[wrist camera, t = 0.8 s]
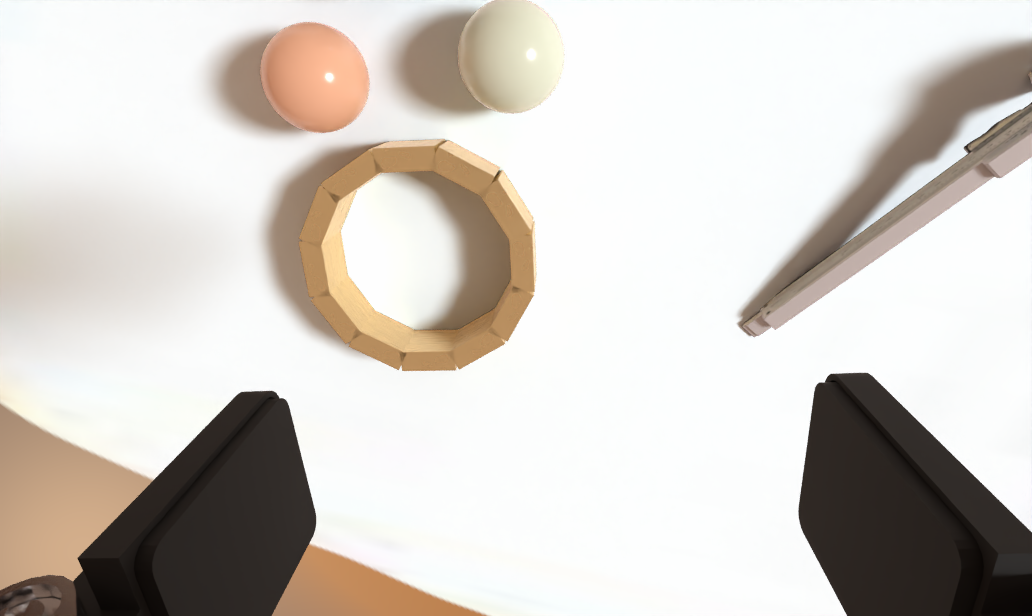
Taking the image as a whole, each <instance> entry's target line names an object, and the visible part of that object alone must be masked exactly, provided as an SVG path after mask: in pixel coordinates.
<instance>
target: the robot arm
mask: <svg viewBox="0 0 1032 616" xmlns="http://www.w3.org/2000/svg"><path fill="white" fill-rule="evenodd" d="M799 521H800V525H801V528H802V531H803V533H804V535H805V537H806V539H807V541H808V542H809V544H810V546H811V548H812V550H813V552H814V554H815V556H816V558H817V559H818V561H819V563H820V565H821V567H822V569H823V571H824V573H825V575H826V576H827V578H828V580H829V582H830V584H831V586H832V588H833V590H834V592H835V594H836V595H837V597H838V599H839V601H840V603H841V605H842V607H843V609H844V611H845V612H846V614H847V616H1032V532H1031V531H1030V530H1029V529H1028V528H1027V527H1026V526H1025V525H1024V524H1022V523H1021V522H1020V521H1019V520H1018V519H1017V518H1016V517H1015V516H1014V515H1013V514H1012V513H1011V512H1010V511H1009V510H1008V509H1007V508H1006V507H1005V506H1004V505H1003V504H1002V503H1001V502H1000V501H999V500H998V499H997V498H996V497H995V496H994V495H993V494H992V493H991V492H990V491H989V490H988V489H987V488H986V487H985V486H984V485H983V484H982V483H981V482H980V481H979V480H978V479H977V478H976V477H975V476H974V475H973V474H971V473H970V472H969V471H968V470H967V469H966V468H965V467H964V466H963V465H962V464H961V463H960V462H959V461H958V460H957V459H956V458H955V457H954V456H953V455H952V454H951V453H950V452H949V451H948V450H947V449H946V448H945V447H944V446H943V445H942V444H941V443H940V442H939V441H938V440H937V439H936V438H935V437H934V436H933V435H932V434H931V433H930V432H929V431H928V430H927V429H926V428H925V427H924V426H923V425H922V424H920V423H919V422H918V421H917V420H916V419H915V418H914V417H913V416H912V415H911V414H910V413H909V412H908V411H907V410H906V409H905V408H904V407H903V406H902V405H901V404H900V403H899V402H898V401H897V400H896V399H895V398H894V397H893V396H892V395H891V394H890V393H889V392H888V391H887V390H886V389H885V388H884V387H883V386H882V385H881V384H880V383H879V382H878V381H877V380H876V379H875V378H874V377H873V376H871V375H870V374H868V373H844V374H830V375H829V376H828V377H827V379H826V381H825V383H818V384H817V386H816V387H815V392H814V399H813V406H812V413H811V421H810V428H809V436H808V443H807V450H806V458H805V465H804V472H803V480H802V487H801V494H800V502H799ZM315 528H316V513H315V509H314V505H313V501H312V497H311V493H310V489H309V485H308V481H307V477H306V473H305V469H304V465H303V461H302V457H301V453H300V449H299V445H298V441H297V437H296V433H295V429H294V425H293V421H292V417H291V413H290V409H289V405H288V403H287V401H286V400H285V399H283V398H280V399H279V396H278V395H277V393H275V392H274V391H253V392H241V393H239V394H238V395H237V396H236V397H235V398H234V399H233V400H232V401H231V402H230V403H229V404H228V405H227V406H226V407H225V408H224V409H223V410H222V411H221V412H220V413H219V414H218V415H217V416H216V417H215V418H214V419H213V420H212V421H211V422H210V423H209V424H208V425H207V426H206V427H205V428H204V429H203V430H202V431H201V432H200V433H199V434H198V435H197V436H196V437H195V439H194V440H193V441H192V442H191V443H190V444H189V445H188V446H187V447H186V448H185V449H184V450H183V451H182V452H181V453H180V454H179V455H178V456H177V457H176V458H175V459H174V460H173V461H172V462H171V463H170V464H169V465H168V466H167V467H166V468H165V469H164V470H163V471H162V472H161V473H160V474H159V475H158V476H157V477H156V478H155V479H154V480H153V481H152V482H151V484H150V485H149V486H148V487H147V488H146V489H145V490H144V491H143V492H142V493H141V494H140V495H139V496H138V497H137V498H136V499H135V500H134V501H133V502H132V503H131V504H130V505H129V506H128V507H127V508H126V509H125V510H124V511H123V512H122V513H121V514H120V515H119V516H118V517H117V519H115V520H114V521H113V523H111V525H110V526H108V528H107V529H106V530H105V531H104V532H103V533H102V534H101V535H100V536H99V537H98V538H97V539H96V540H95V541H94V542H93V543H92V544H91V545H90V546H89V547H88V548H87V549H86V550H85V551H84V552H83V553H82V554H81V555H80V556H79V557H78V560H79V562H80V565H81V567H82V569H83V572H82V573H81V574H80V575H79V576H78V577H77V578H76V579H75V580H74V581H73V582H72V581H71V580H69V579H67V578H65V577H64V576H55V575H47V576H41V577H35V578H30V579H27V580H24V581H21V582H19V583H16V584H13V585H10V586H8V587H6V588H4V589H2V590H0V616H272V614H273V612H274V610H275V608H276V606H277V604H278V602H279V600H280V598H281V596H282V594H283V593H284V590H285V589H286V587H287V585H288V583H289V581H290V579H291V577H292V575H293V573H294V571H295V570H296V568H297V566H298V564H299V562H300V560H301V558H302V556H303V554H304V552H305V550H306V548H307V546H308V545H309V543H310V541H311V539H312V537H313V535H314V532H315Z"/></svg>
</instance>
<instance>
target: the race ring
mask: <svg viewBox="0 0 1032 616" xmlns="http://www.w3.org/2000/svg"><path fill="white" fill-rule="evenodd" d="M499 169H500V167H498V166H497V165H495V164H493V163H491V162H489V161H487V160H485V159H483V158H482V157H480V156H478V155H476V154H474V153H472V152H470V151H468V150H467V149H465V148H463V147H461V146H459V145H457V144H455V143H453V142H451V141H450V140H448V141H447V142H445V139H437V140H413V141H390V142H386V143H383V144H381V145H378V146H376V147H374V148H371V149H369V150H367V151H366V152H364V153H363V154H362V155H360V156H359V157H357V158H356V159H355V160H353V161H352V162H350V163H349V164H347V165H346V166H345V167H343V168H342V169H340V170H339V171H338V172H336V173H335V174H333V175H332V176H331V177H329V178H328V179H326V180H325V181H323V182H322V183H321V184H322V185H320V186H319V187H318V189H317V192H316V195H315V197H314V200H313V203H312V205H311V208H310V210H309V213H308V216H307V218H306V221H305V224H304V226H303V229H302V232H301V234H300V237H299V239H301V241H300V242H299V247H300V252H301V257H302V262H303V268H304V273H305V278H306V283H307V289H308V294H309V297H314V298H313V299H312V300H311V301H312V303H313V304H314V305H315V306H316V308H317V309H318V310H319V311H320V313H321V314H322V315H323V316H324V318H325V319H326V320H327V321H328V322H329V324H330V325H331V326H332V327H333V329H334V330H335V331H336V332H337V334H338V335H339V336H340V337H341V339H342V340H343V341H344V342H345V344H347V343H348V342H350V341H351V343H350V345H349V347H351V348H353V349H355V350H357V351H360V352H362V353H364V354H366V355H368V356H370V357H372V358H374V359H376V360H378V361H381V362H383V363H385V364H387V365H389V366H391V367H393V368H395V369H397V370H399V368H400V367H401V365H402V371H435V370H456V368H457V367H458V368H459V369H461V368H463V367H464V366H466V365H468V364H470V363H472V362H473V361H475V360H477V359H479V358H481V357H482V356H484V355H486V354H488V353H489V352H491V351H493V350H495V349H497V348H498V347H500V346H502V345H504V344H505V340H506V341H508V340H509V338H510V336H511V334H512V333H513V331H514V329H515V327H516V325H517V324H518V322H519V320H520V318H521V317H522V315H523V313H524V311H525V310H526V308H527V306H528V304H529V303H530V301H531V299H532V297H533V296H534V292H535V282H536V251H535V224H534V221H533V216H532V215H531V213H530V212H529V210H528V209H527V207H526V205H525V204H524V202H523V201H522V199H521V198H520V196H519V194H518V193H517V191H516V190H515V188H514V187H513V185H512V183H511V182H510V180H509V179H508V177H507V176H506V174H505V172H504V171H503V170H502V171H501V172H499V173H498V171H499ZM414 171H434V172H436V173H437V174H439V175H441V176H443V177H445V178H447V179H449V180H451V181H453V182H455V183H457V184H458V185H460V186H462V187H464V188H466V189H468V190H470V191H472V192H474V193H476V194H478V195H479V196H481V198H482V199H483V201H484V202H485V204H486V205H487V207H488V208H489V210H490V211H491V213H492V214H493V216H494V217H495V219H496V220H497V222H498V223H499V225H500V227H501V228H502V230H503V231H504V233H505V234H506V236H507V237H508V239H509V244H510V263H511V280H510V282H509V284H508V286H507V287H506V289H505V291H504V293H503V295H502V297H501V298H500V300H499V302H498V304H497V306H496V308H495V309H493V310H491V311H490V312H488V313H486V314H484V315H483V316H481V317H479V318H478V319H476V320H474V321H472V322H471V323H469V324H467V325H465V326H464V327H462V328H460V329H459V330H414V329H412V328H410V327H407V326H405V325H403V324H401V323H399V322H397V321H395V320H393V319H391V318H389V317H387V316H385V315H383V314H381V313H379V312H377V311H375V310H374V309H373V307H372V306H371V305H370V303H369V302H368V301H367V300H366V298H365V297H364V296H363V294H362V293H361V292H360V290H359V289H358V288H357V286H356V285H355V284H354V283H353V281H352V280H351V279H350V277H349V276H348V274H347V267H346V261H345V255H344V249H343V243H342V237H341V229H342V226H343V224H344V221H345V219H346V216H347V214H348V212H349V209H350V207H351V204H352V202H353V199H354V197H355V194H356V192H357V190H358V189H359V188H361V187H362V186H364V185H365V184H367V183H368V182H370V181H371V180H372V179H374V178H375V177H377V176H378V175H380V174H381V173H388V172H414ZM497 173H498V174H497Z"/></svg>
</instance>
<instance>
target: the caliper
mask: <svg viewBox="0 0 1032 616" xmlns="http://www.w3.org/2000/svg"><path fill="white" fill-rule="evenodd" d="M1028 76H1029V78H1030V80H1031V83H1032V71H1031V72H1030V73H1029V74H1028ZM964 150H965V151H966V152H967V153H968V154H967V155H966V156H965V157H963V158H962V159H960V160H959V161H958V162H956V163H955V164H954V165H952V166H951V167H950V168H948V169H947V170H946V171H944V172H943V173H941V174H940V175H939V176H937V177H936V178H935V179H933V180H932V181H931V182H929V183H928V184H926V185H925V186H924V187H922V188H921V189H920V190H918V191H917V192H916V193H914V194H913V195H912V196H910V197H909V198H907V199H906V200H905V201H903V202H902V203H901V204H899V205H898V206H897V207H895V208H894V209H893V210H891V211H890V212H888V213H887V214H886V215H884V216H883V217H882V218H880V219H879V220H878V221H876V222H875V223H874V224H872V225H871V226H869V227H868V228H867V229H865V230H864V231H863V232H861V233H860V234H859V235H857V236H856V237H854V238H853V239H852V240H850V241H849V242H848V243H846V244H845V245H843V246H842V247H841V248H839V249H838V250H837V251H835V252H834V253H832V254H831V255H830V256H828V257H827V258H826V259H824V260H823V261H822V262H820V263H819V264H817V265H816V266H815V267H813V268H812V269H811V270H809V271H808V272H806V273H805V274H804V275H802V276H801V277H800V278H798V279H797V280H795V281H794V282H793V283H791V284H790V285H789V286H787V287H786V288H784V289H783V290H782V291H781V292H779V293H778V294H777V295H776V296H775V297H774V298H773V299H771V300H770V301H769V302H768V303H767V304H766V305H765V306H763V307H762V308H761V309H760V312H759V313H758V314H756V315H755V316H754V317H752V318H751V319H749V320H748V321H747V322H745V323H744V324H743V325H742V327H743V328H744V329H745V330H746V331H748V332H749V333H750V334H751V335H752V336H753V337H755V336H759V335H761V334H762V333H764V332H765V331H766V330H768V329H769V328H771V327H773V328H774V329H775V330H776V329H777V328H779V327H780V326H782V325H783V324H784V323H786V322H787V321H789V320H790V319H792V318H793V317H795V316H796V315H797V314H799V313H800V312H802V311H803V310H805V309H806V308H807V307H809V306H810V305H812V304H813V303H815V302H816V301H817V300H819V299H820V298H822V297H823V296H825V295H826V294H828V293H829V292H830V291H832V290H833V289H835V288H836V287H838V286H839V285H840V284H842V283H843V282H845V281H846V280H848V279H849V278H850V277H852V276H853V275H855V274H856V273H858V272H859V271H860V270H862V269H863V268H865V267H866V266H868V265H869V264H870V263H872V262H873V261H875V260H876V259H878V258H879V257H880V256H882V255H883V254H885V253H886V252H888V251H889V250H890V249H892V248H893V247H895V246H896V245H897V244H899V243H900V242H902V241H903V240H905V239H906V238H907V237H909V236H910V235H912V234H913V233H915V232H916V231H917V230H919V229H920V228H922V227H923V226H925V225H926V224H927V223H929V222H930V221H932V220H933V219H935V218H936V217H937V216H939V215H940V214H942V213H943V212H945V211H946V210H947V209H949V208H950V207H952V206H953V205H955V204H956V203H957V202H959V201H960V200H962V199H963V198H965V197H966V196H967V195H969V194H970V193H972V192H973V191H975V190H976V189H977V188H979V187H980V186H982V185H983V184H985V183H986V182H987V181H989V180H990V179H992V178H993V177H996V178H1002V177H1003V176H1005V175H1006V174H1007V173H1009V172H1010V171H1012V170H1013V169H1015V168H1016V167H1018V166H1019V165H1021V164H1022V163H1024V162H1025V161H1026V160H1028V159H1029V158H1031V157H1032V103H1031V104H1029V105H1028V106H1027V107H1025V108H1024V109H1023V110H1018V111H1017V112H1015V113H1013V114H1011V115H1010V116H1008V117H1006V118H1004V119H1003V120H1001V121H999V122H998V123H996V124H995V125H993V126H992V127H991V128H990V129H989V130H988V131H987V132H986V133H984V134H983V135H982V136H980V137H978V138H977V139H975V140H973V141H972V142H970V143H969V144H967V145H966V146H965V147H964Z"/></svg>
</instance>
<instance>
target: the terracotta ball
mask: <svg viewBox="0 0 1032 616" xmlns="http://www.w3.org/2000/svg"><path fill="white" fill-rule="evenodd" d="M260 75H261V82H262V86H263V90H264V92H265V95H266V97H267V99H268V101H269V103H270V104H271V106H272V107H273V108H274V110H275V111H276V112H277V113H278V114H279V115H280V116H281V117H282V118H283V119H285V120H286V121H287V122H288V123H290V124H292V125H293V126H295V127H297V128H300V129H302V130H305V131H309V132H314V133H327V132H333V131H337V130H340V129H342V128H344V127H346V126H347V125H349V124H351V123H352V122H353V121H354V120H355V119H356V118H357V117H358V116H359V115H360V113H361V112H362V110H363V108H364V106H365V104H366V102H367V99H368V94H369V85H370V83H369V74H368V69H367V66H366V63H365V60H364V58H363V56H362V54H361V53H360V51H359V49H358V48H357V47H356V46H355V44H354V43H353V42H352V41H351V40H350V39H349V38H348V37H347V36H345V35H344V34H343V33H341V32H340V31H338V30H337V29H335V28H332V27H330V26H328V25H325V24H321V23H316V22H302V23H296V24H293V25H290V26H288V27H286V28H284V29H282V30H281V31H279V32H278V33H277V34H276V35H275V36H274V37H273V38H272V39H271V40H270V42H269V43H268V45H267V46H266V48H265V50H264V53H263V56H262V60H261V67H260Z"/></svg>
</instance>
